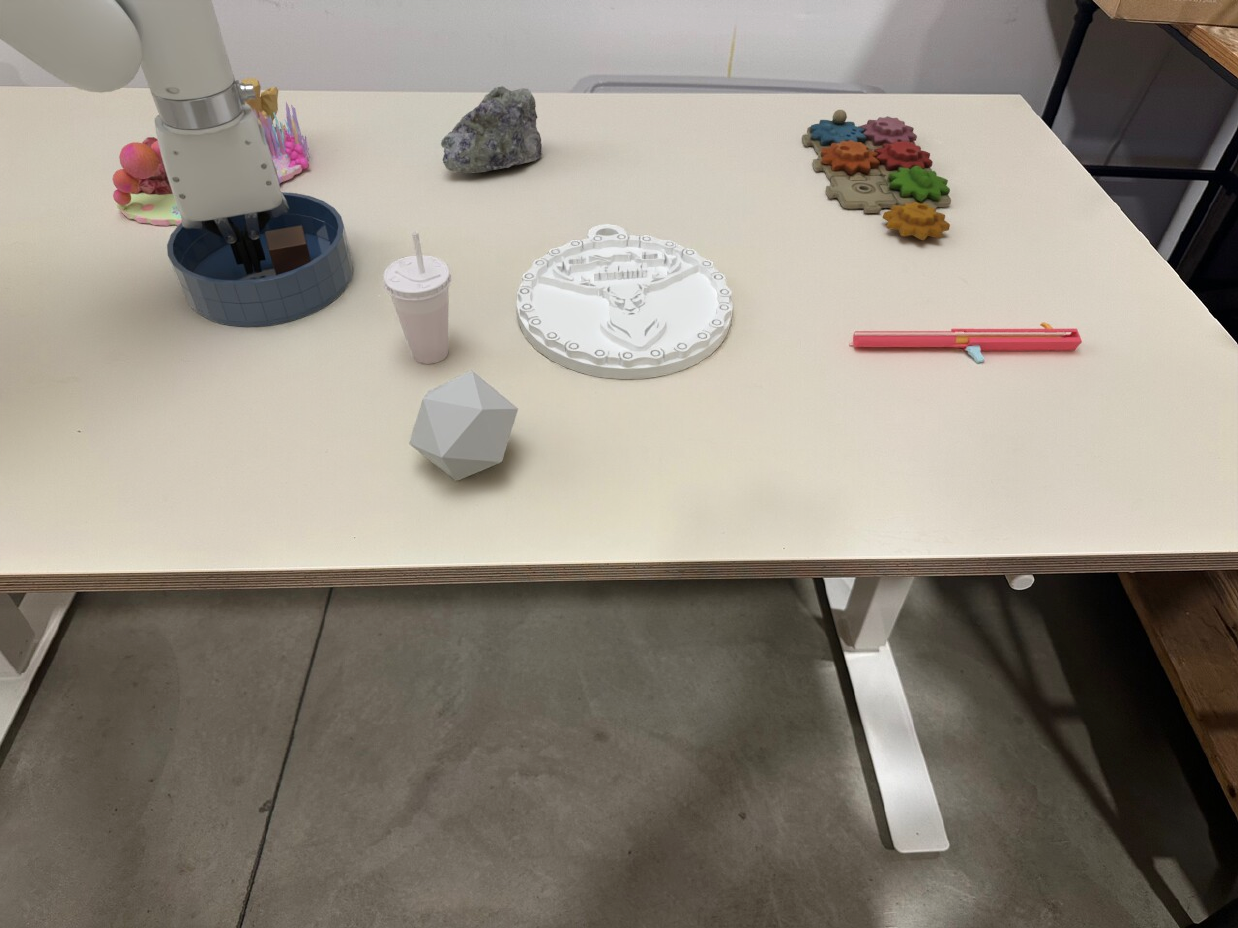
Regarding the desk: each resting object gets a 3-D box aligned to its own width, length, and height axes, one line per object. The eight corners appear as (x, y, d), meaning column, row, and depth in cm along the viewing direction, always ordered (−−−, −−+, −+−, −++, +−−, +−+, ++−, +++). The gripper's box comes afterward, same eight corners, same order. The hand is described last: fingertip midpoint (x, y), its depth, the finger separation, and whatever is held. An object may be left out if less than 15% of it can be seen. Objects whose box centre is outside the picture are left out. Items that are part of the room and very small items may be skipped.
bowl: (188, 342, 89) (169, 298, 85) (181, 249, 101) (165, 207, 97) (365, 307, 94) (355, 264, 90) (340, 223, 106) (330, 181, 102)
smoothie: (450, 376, 86) (431, 255, 76) (389, 367, 87) (362, 247, 77) (469, 337, 91) (453, 218, 81) (410, 329, 91) (388, 210, 81)
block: (278, 281, 96) (268, 250, 93) (274, 262, 98) (264, 231, 95) (314, 274, 97) (306, 243, 94) (310, 256, 99) (301, 225, 97)
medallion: (526, 389, 85) (525, 370, 84) (507, 240, 104) (506, 223, 102) (755, 369, 88) (759, 351, 87) (698, 228, 107) (700, 211, 105)
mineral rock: (444, 183, 113) (433, 107, 106) (449, 144, 120) (439, 71, 113) (542, 181, 114) (539, 106, 106) (541, 143, 121) (538, 70, 114)
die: (480, 414, 84) (404, 361, 77) (549, 406, 78) (474, 348, 71) (454, 494, 81) (372, 446, 73) (524, 492, 75) (443, 440, 68)
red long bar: (1077, 366, 91) (1066, 329, 93) (1087, 356, 89) (1076, 318, 91) (852, 367, 90) (846, 329, 92) (858, 356, 88) (852, 318, 90)
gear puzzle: (979, 247, 105) (990, 217, 102) (849, 249, 104) (857, 219, 101) (903, 130, 126) (911, 102, 124) (795, 131, 125) (800, 103, 122)
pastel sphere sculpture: (127, 142, 118) (99, 74, 112) (304, 122, 124) (288, 56, 117) (114, 238, 102) (81, 165, 95) (319, 210, 107) (301, 139, 101)
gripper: (276, 77, 87) (317, 237, 100) (114, 97, 83) (180, 261, 96) (284, 109, 82) (327, 272, 95) (113, 131, 78) (183, 298, 91)
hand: (253, 266), depth 96 cm, fingers closed
